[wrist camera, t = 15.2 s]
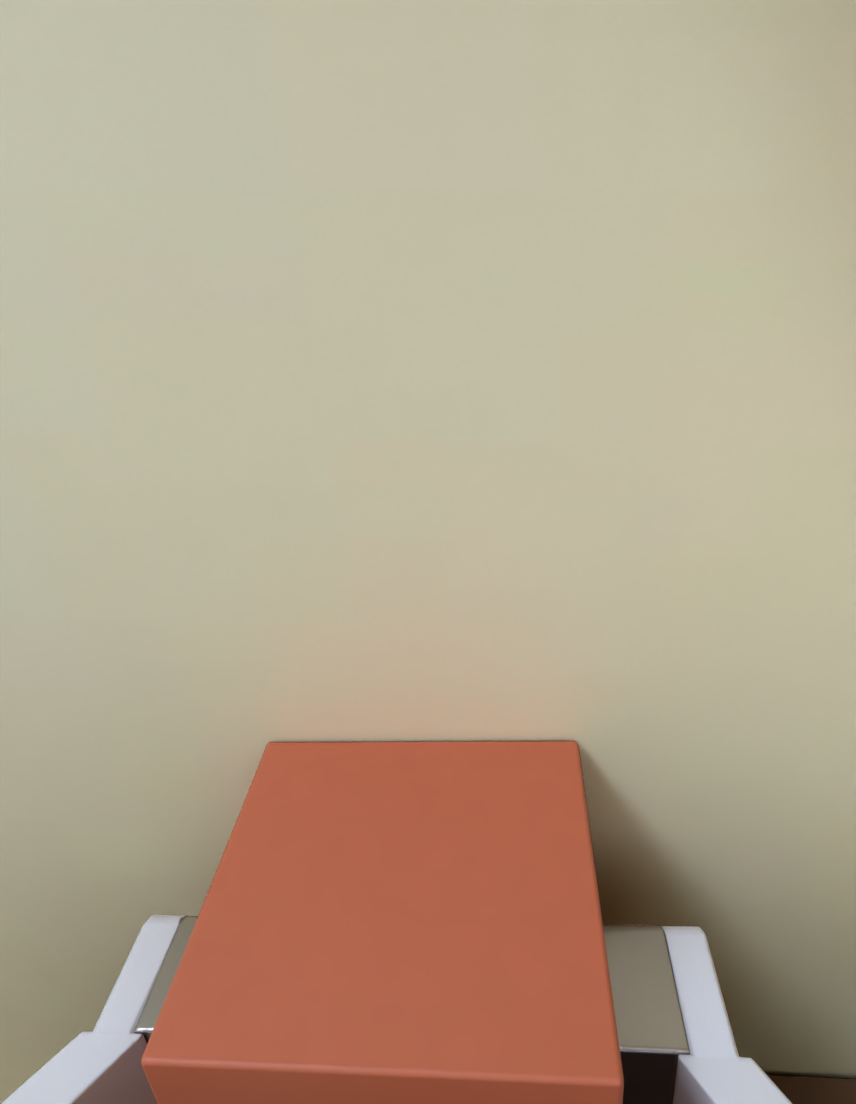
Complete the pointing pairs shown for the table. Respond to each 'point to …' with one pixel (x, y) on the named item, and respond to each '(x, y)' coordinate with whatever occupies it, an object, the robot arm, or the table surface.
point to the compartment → (816, 1089)
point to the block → (398, 936)
